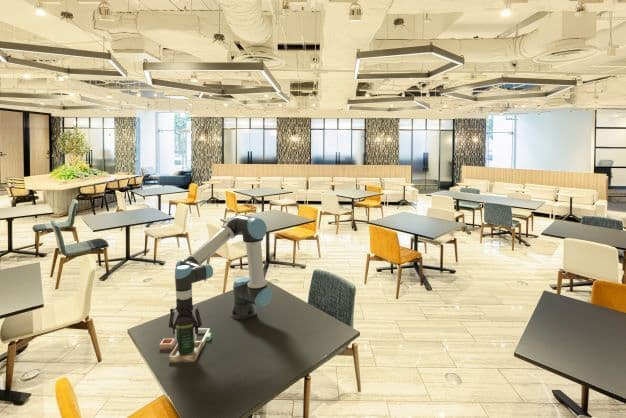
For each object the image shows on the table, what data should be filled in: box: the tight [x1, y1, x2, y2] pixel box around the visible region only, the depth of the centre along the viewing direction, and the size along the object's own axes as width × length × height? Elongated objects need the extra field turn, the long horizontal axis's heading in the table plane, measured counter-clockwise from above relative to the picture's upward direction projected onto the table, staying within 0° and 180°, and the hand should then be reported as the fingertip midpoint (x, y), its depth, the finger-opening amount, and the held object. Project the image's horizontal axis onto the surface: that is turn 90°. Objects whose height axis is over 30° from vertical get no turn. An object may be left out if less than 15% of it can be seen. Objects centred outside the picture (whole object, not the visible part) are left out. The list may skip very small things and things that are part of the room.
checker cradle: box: [198, 327, 212, 347], centre depth 201 cm, size 15×15×2 cm
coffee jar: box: [176, 315, 194, 354], centre depth 185 cm, size 10×8×19 cm
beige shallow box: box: [168, 340, 204, 363], centre depth 186 cm, size 13×14×3 cm
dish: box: [159, 337, 176, 351], centre depth 193 cm, size 6×6×3 cm
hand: (186, 339), depth 185 cm, fingers closed on coffee jar, 8 cm apart
